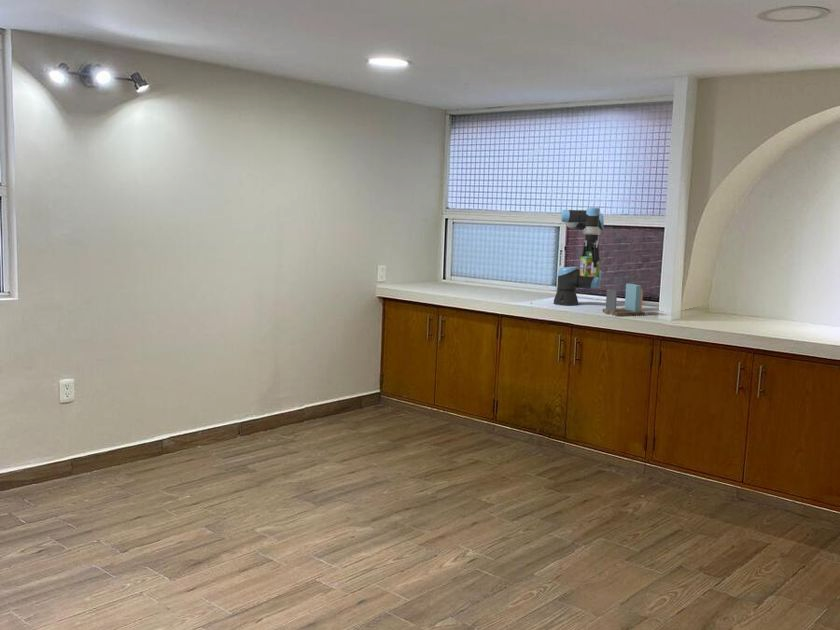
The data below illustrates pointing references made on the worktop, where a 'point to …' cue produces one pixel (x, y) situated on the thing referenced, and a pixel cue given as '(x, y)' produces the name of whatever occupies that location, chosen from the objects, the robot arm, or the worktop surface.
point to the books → (633, 298)
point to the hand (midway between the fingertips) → (589, 272)
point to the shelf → (624, 312)
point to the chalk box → (588, 266)
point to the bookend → (611, 300)
